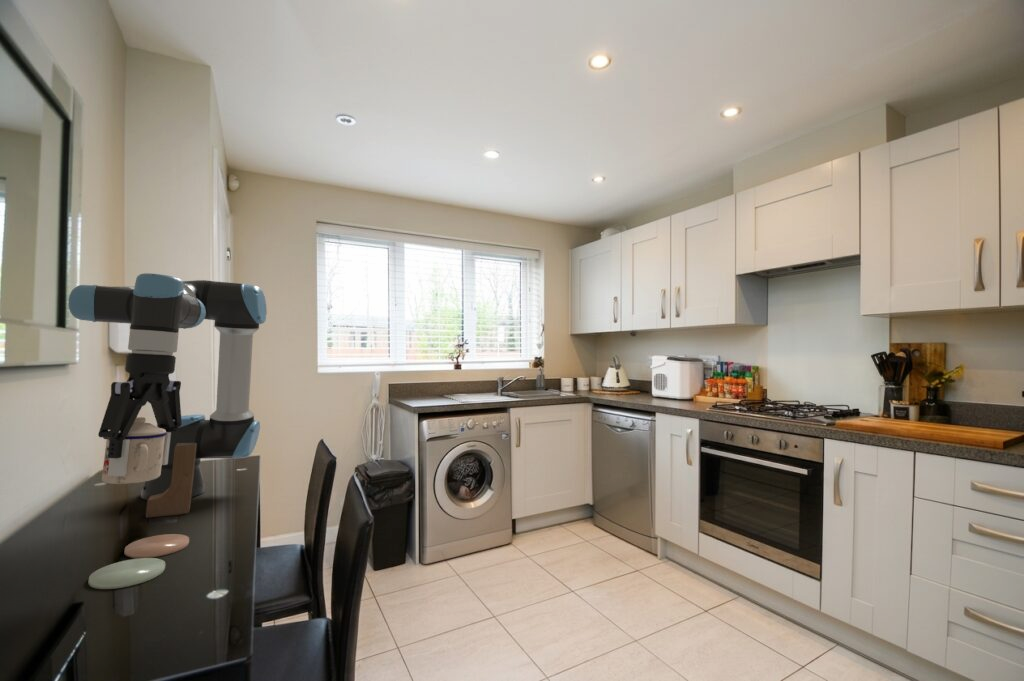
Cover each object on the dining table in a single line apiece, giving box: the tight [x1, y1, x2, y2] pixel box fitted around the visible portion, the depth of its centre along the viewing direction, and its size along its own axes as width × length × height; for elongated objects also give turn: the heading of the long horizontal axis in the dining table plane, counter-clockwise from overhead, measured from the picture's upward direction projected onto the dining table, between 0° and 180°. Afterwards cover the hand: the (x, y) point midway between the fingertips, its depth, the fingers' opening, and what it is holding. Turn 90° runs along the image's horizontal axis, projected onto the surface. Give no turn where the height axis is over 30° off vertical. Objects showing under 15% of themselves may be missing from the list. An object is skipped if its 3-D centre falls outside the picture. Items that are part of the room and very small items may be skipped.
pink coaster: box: [124, 533, 190, 559], centre depth 96 cm, size 11×11×1 cm
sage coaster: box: [88, 557, 166, 590], centre depth 84 cm, size 11×11×1 cm
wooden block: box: [145, 443, 197, 519], centre depth 117 cm, size 9×4×18 cm, turn 122°
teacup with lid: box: [101, 416, 167, 485], centre depth 85 cm, size 12×9×12 cm
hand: (139, 469), depth 85 cm, fingers closed on teacup with lid, 9 cm apart
